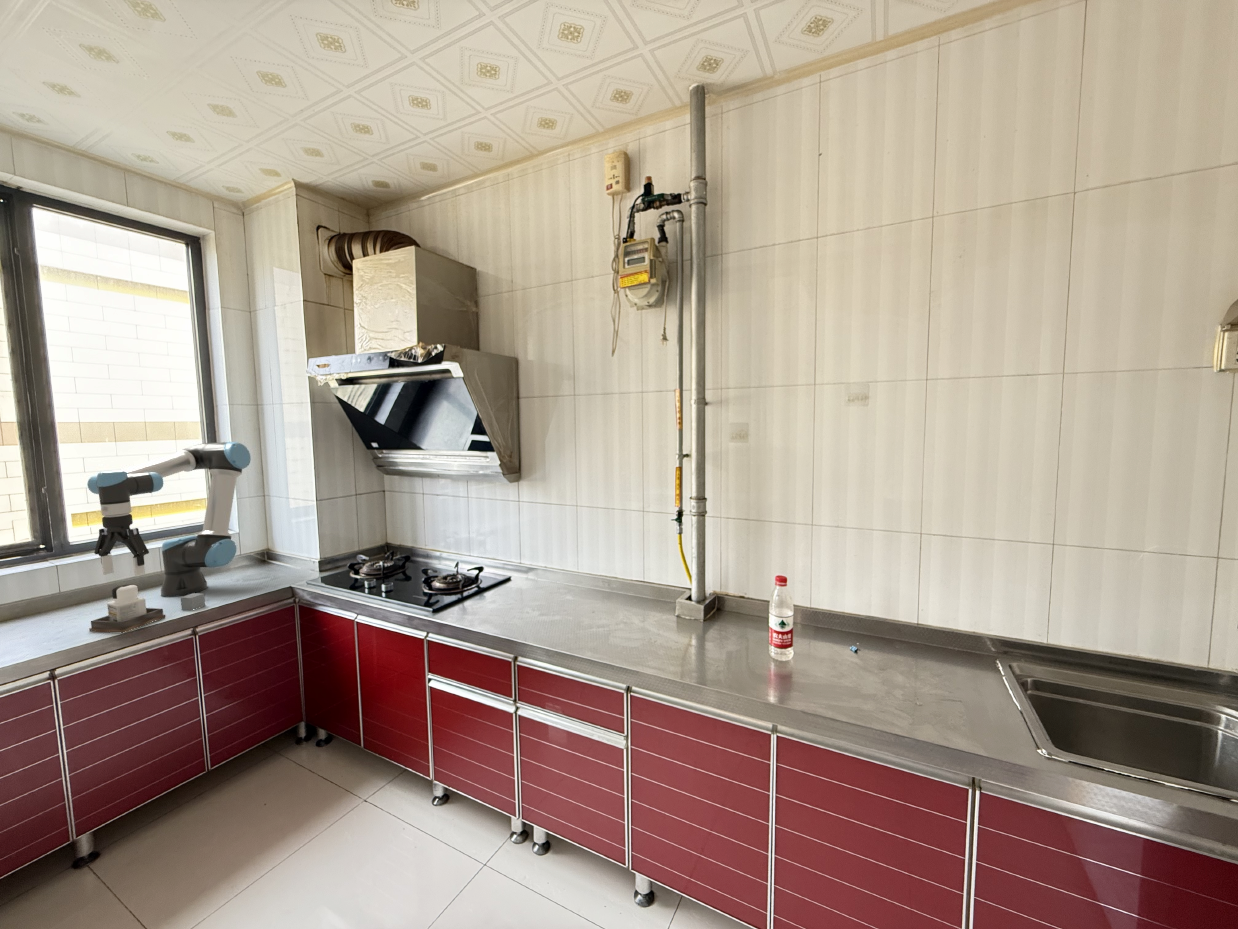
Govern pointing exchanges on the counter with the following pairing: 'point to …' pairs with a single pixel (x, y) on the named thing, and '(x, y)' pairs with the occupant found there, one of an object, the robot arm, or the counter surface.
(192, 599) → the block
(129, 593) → the container
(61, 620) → the counter surface
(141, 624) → the tray
